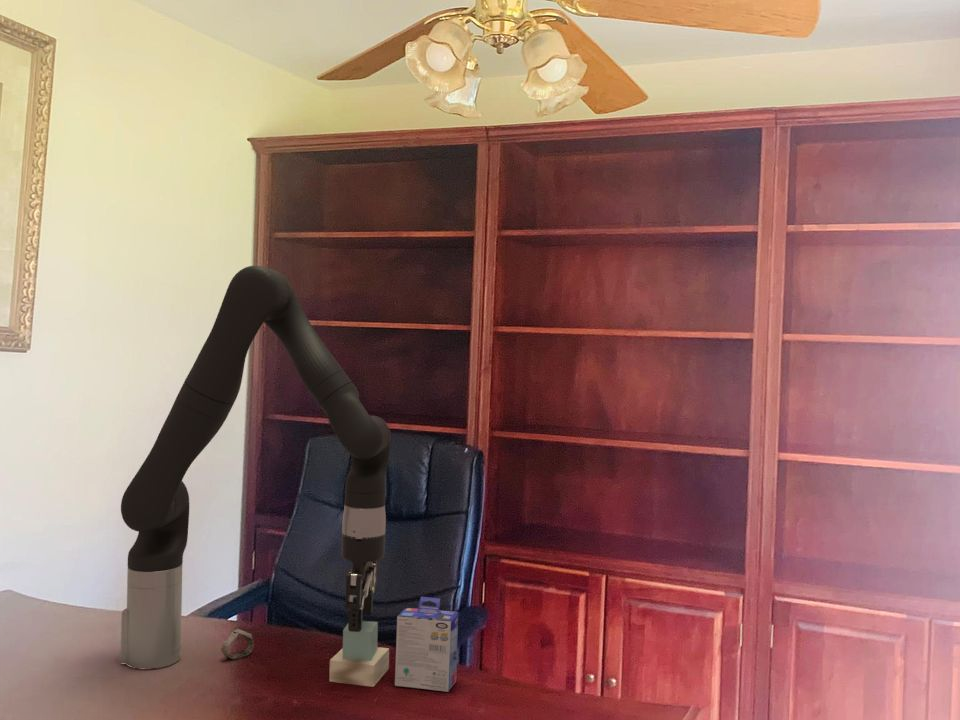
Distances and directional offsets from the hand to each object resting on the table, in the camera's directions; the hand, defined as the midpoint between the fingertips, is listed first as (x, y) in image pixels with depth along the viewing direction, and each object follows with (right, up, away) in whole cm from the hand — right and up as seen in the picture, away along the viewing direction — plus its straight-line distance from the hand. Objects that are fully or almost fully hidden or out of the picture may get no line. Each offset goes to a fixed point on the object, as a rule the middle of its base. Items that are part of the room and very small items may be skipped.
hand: (360, 622), depth 144 cm
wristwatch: (-24, -9, +7) cm, 26 cm away
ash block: (0, -10, 0) cm, 10 cm away
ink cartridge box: (+12, -10, -3) cm, 16 cm away
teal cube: (0, -6, 0) cm, 6 cm away
